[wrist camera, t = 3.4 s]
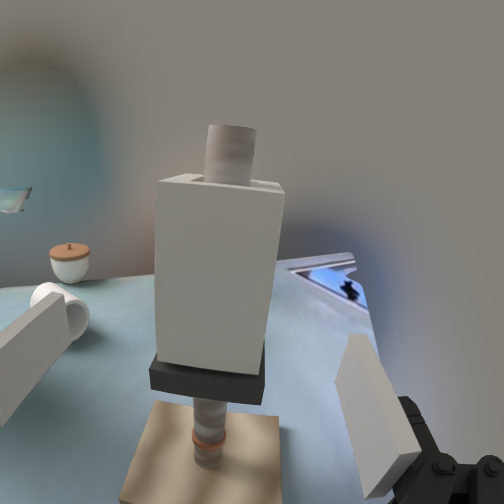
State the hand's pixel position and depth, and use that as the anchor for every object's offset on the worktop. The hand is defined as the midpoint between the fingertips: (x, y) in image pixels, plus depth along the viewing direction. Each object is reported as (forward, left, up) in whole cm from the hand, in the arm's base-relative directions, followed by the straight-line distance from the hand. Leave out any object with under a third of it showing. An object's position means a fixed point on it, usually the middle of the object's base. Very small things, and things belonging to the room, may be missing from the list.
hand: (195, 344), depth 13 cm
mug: (-41, -14, -25) cm, 50 cm away
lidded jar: (-66, -11, -25) cm, 71 cm away
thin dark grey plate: (-8, +4, -9) cm, 12 cm away
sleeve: (-8, +4, -6) cm, 11 cm away
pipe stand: (-8, +4, -25) cm, 26 cm away
